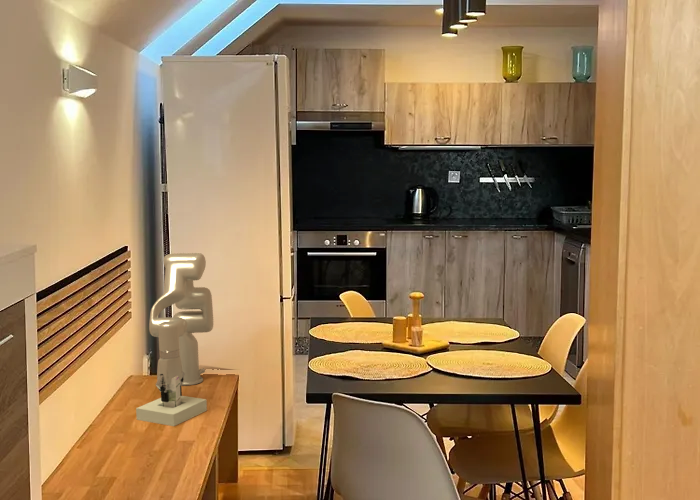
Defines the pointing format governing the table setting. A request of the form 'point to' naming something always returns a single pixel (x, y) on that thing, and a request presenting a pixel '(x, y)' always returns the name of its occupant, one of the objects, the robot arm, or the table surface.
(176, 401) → the syrup box
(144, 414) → the socket holder
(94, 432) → the table surface
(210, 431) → the table surface
